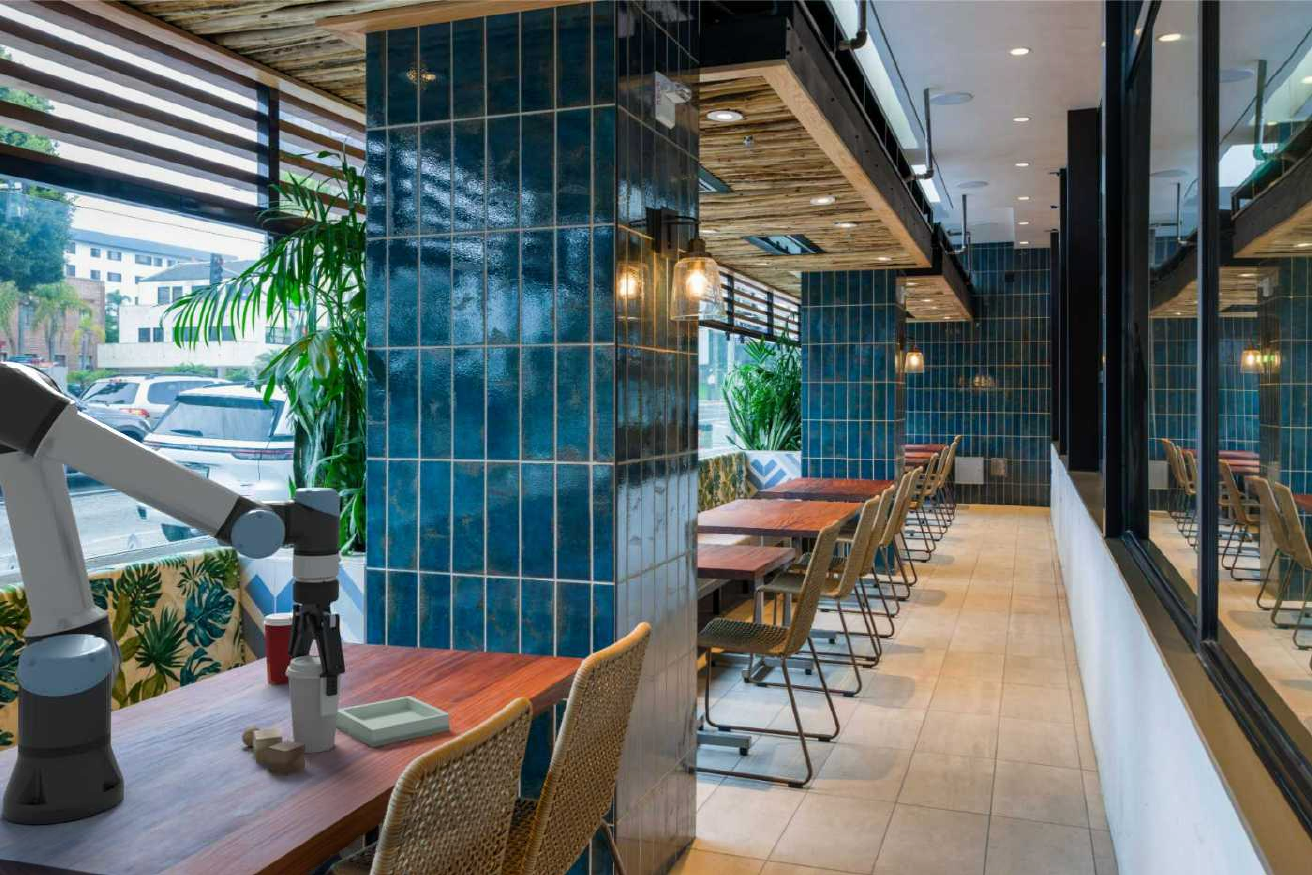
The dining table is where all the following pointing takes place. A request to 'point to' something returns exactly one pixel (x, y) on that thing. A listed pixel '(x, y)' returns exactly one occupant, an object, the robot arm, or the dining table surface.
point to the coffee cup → (309, 705)
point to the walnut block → (286, 758)
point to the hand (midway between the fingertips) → (314, 706)
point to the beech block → (264, 743)
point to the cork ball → (249, 736)
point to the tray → (392, 721)
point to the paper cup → (278, 646)
